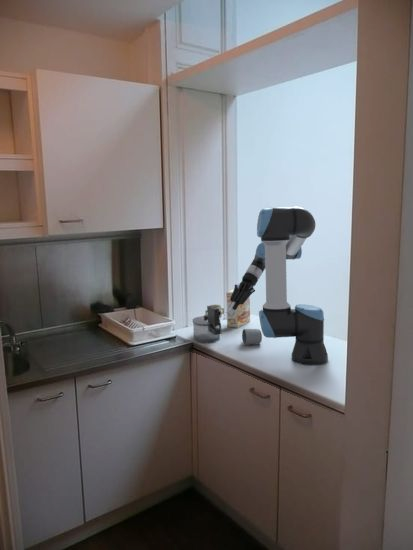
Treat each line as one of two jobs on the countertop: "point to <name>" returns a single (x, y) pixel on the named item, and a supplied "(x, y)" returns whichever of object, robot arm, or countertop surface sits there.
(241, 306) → the coffeecake box
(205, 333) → the pot
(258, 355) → the countertop surface
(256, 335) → the ceramic mug
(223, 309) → the character mug
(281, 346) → the countertop surface
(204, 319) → the lid
